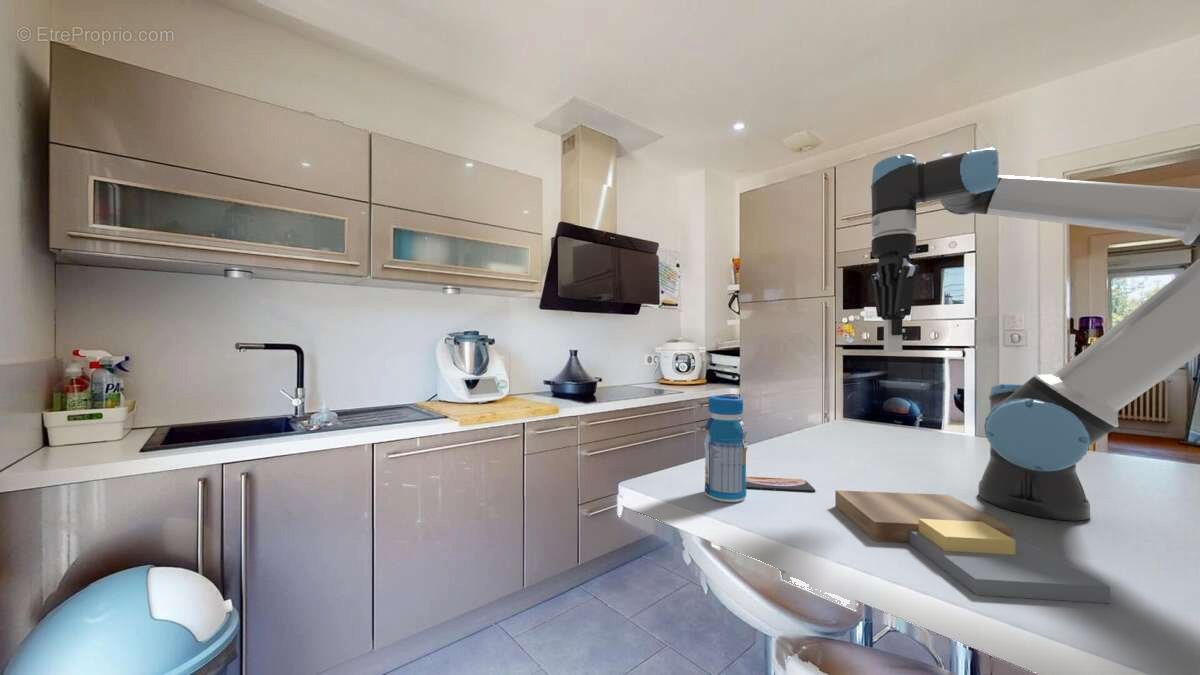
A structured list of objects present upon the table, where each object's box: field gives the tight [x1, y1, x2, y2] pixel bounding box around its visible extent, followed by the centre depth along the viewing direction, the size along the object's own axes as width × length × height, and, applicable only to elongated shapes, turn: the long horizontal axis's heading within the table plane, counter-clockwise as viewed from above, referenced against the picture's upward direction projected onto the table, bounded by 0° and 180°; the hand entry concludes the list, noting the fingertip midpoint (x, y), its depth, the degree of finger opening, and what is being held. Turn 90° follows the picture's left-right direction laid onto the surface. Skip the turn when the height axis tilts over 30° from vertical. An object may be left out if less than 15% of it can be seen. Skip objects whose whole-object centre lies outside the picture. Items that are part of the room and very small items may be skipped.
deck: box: [834, 489, 1014, 544], centre depth 73 cm, size 20×14×3 cm
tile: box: [919, 519, 1015, 555], centre depth 63 cm, size 9×6×2 cm, turn 83°
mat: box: [909, 531, 1111, 604], centre depth 59 cm, size 15×13×2 cm
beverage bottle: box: [703, 395, 748, 503], centre depth 86 cm, size 8×8×20 cm
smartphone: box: [746, 476, 816, 494], centre depth 93 cm, size 8×1×15 cm
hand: (892, 351), depth 87 cm, fingers closed
